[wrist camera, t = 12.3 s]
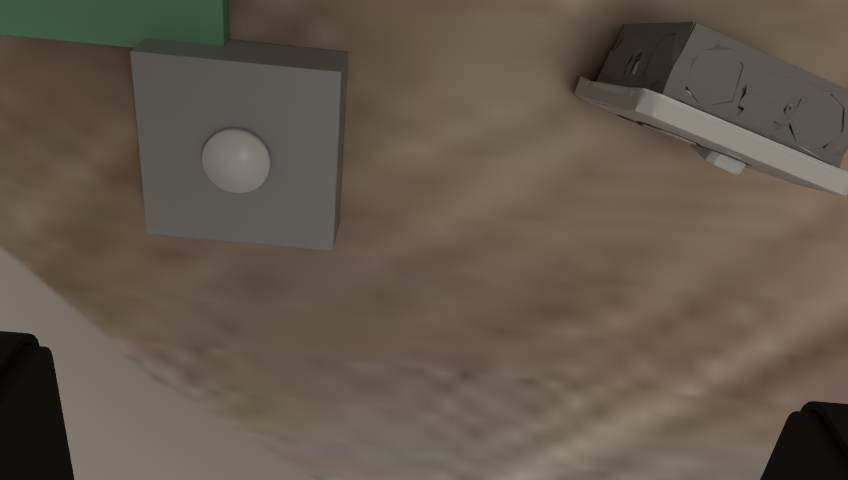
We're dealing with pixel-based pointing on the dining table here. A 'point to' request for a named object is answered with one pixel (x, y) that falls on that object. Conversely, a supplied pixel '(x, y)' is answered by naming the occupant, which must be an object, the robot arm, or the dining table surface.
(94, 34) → the board
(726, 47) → the electrical switch
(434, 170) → the dining table surface
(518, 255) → the dining table surface
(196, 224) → the grey knob block
